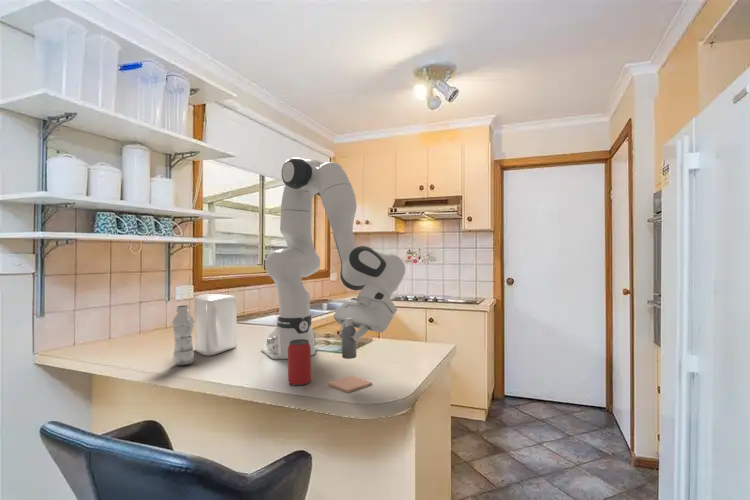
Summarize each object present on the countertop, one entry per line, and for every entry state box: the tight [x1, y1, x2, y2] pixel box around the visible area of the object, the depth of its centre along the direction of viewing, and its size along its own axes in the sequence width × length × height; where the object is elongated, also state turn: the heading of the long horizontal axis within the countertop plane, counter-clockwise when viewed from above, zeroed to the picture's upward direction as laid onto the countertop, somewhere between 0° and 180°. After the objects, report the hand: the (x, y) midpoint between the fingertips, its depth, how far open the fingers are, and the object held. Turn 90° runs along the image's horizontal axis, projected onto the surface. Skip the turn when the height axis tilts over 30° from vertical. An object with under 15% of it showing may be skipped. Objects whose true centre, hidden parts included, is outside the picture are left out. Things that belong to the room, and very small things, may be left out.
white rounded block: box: [193, 293, 238, 357], centre depth 156 cm, size 15×14×22 cm
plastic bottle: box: [172, 304, 195, 366], centre depth 137 cm, size 6×7×20 cm
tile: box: [327, 375, 373, 393], centre depth 115 cm, size 9×9×1 cm
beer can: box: [287, 339, 312, 386], centre depth 117 cm, size 7×7×12 cm
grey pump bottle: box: [341, 318, 357, 360], centre depth 115 cm, size 4×4×11 cm
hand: (347, 338), depth 114 cm, fingers closed on grey pump bottle, 4 cm apart
